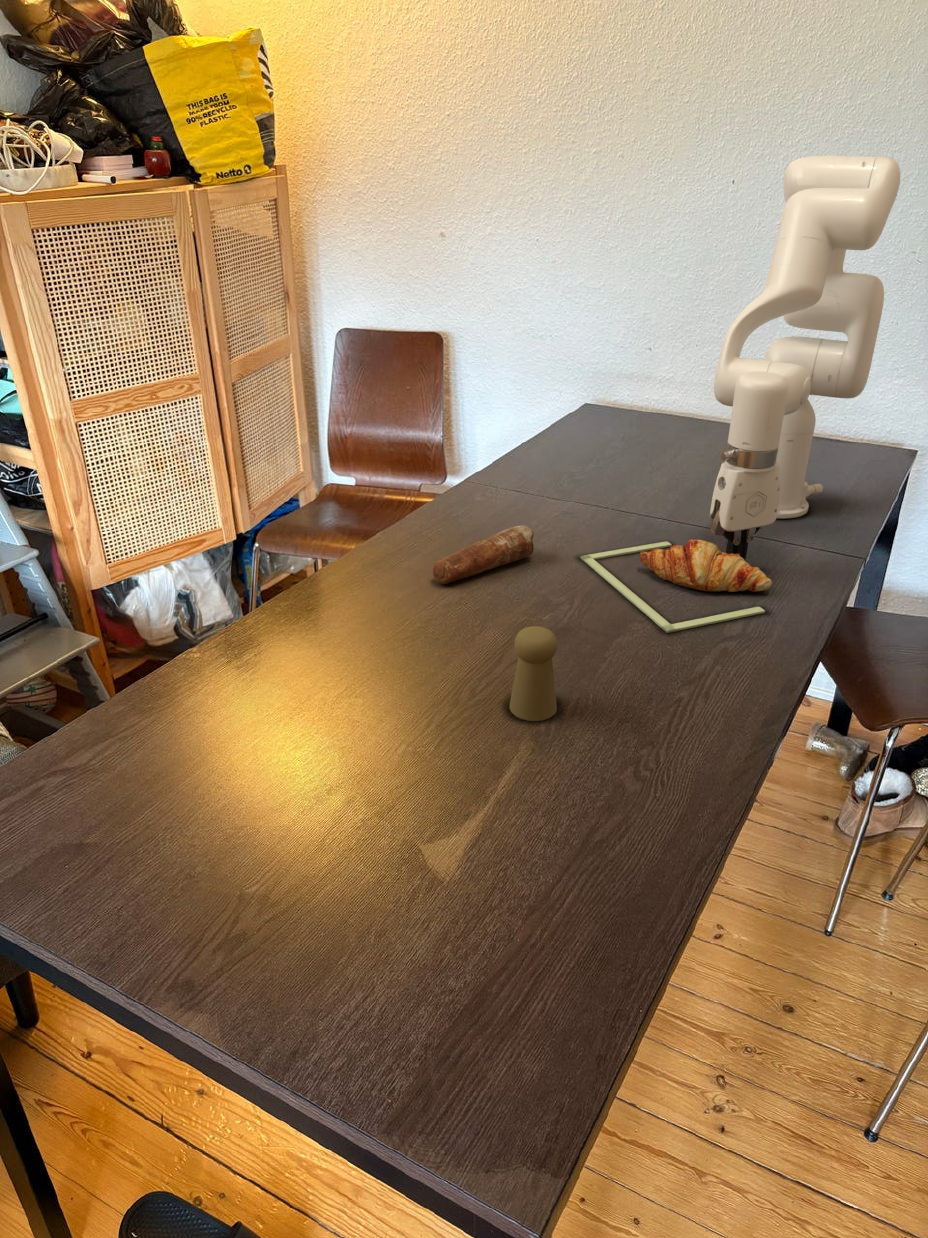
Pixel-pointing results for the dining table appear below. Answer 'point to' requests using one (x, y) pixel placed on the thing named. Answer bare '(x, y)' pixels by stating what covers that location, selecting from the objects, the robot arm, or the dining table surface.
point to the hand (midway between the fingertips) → (734, 562)
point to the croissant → (705, 568)
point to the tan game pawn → (534, 675)
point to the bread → (485, 555)
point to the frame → (647, 609)
